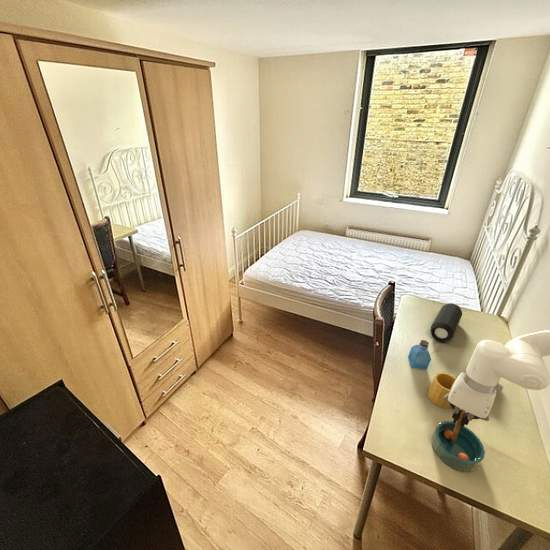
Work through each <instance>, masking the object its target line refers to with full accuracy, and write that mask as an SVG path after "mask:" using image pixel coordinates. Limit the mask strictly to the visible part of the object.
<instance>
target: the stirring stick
mask: <svg viewBox="0 0 550 550" xmlns="http://www.w3.org/2000/svg"><path fill="white" fill-rule="evenodd" d="M459 413H460V414H459V417H458V419H457V421H456V424H455V428H454V431H453V434H452V437H451V439H450V443H451V444H452V445H454V444H455V442H456V439H457V436H458V433H459V430H460V427H461V423H462V421H463V419H464V416H465V413H467V411H465V410H463V409H461V408H460V412H459Z"/></svg>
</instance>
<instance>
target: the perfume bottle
mask: <svg viewBox="0 0 550 550" xmlns="http://www.w3.org/2000/svg"><path fill="white" fill-rule="evenodd" d="M429 345H430V343H429V341H427V340H425V339H421V340H420V342H419V344H415V345H413V346H411V347H410V351H409V353H408V356H407V358H409V359H408V362H409V365H410V367H411V366H412V367H411V369H417V368H418V370H426V369H427V370H428V369H429V366H430V363H431V361H432V360H431V359H432V358H431V354H430V352H429Z"/></svg>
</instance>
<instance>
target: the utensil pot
mask: <svg viewBox="0 0 550 550" xmlns="http://www.w3.org/2000/svg"><path fill="white" fill-rule="evenodd" d="M456 379H457V377H456V376H454V375H452V374H450V373H447V372H443V371H442V372H441V371H440V372H437V373H435V374H434V377H433V378H432V381H431V384H430V387H429V389H428V391H427V397H428V398H429V400H430V402H432V403H433V404H434V405H436V406H438V407H440V408H443V409H450V408H452V407H451V406H450V404H449V403H447V402H446V401H445V400H444V396H445V395H446V394H448V393H449V392H450V390H451V387H452V385H453V384H454V382H455V380H456Z"/></svg>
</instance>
